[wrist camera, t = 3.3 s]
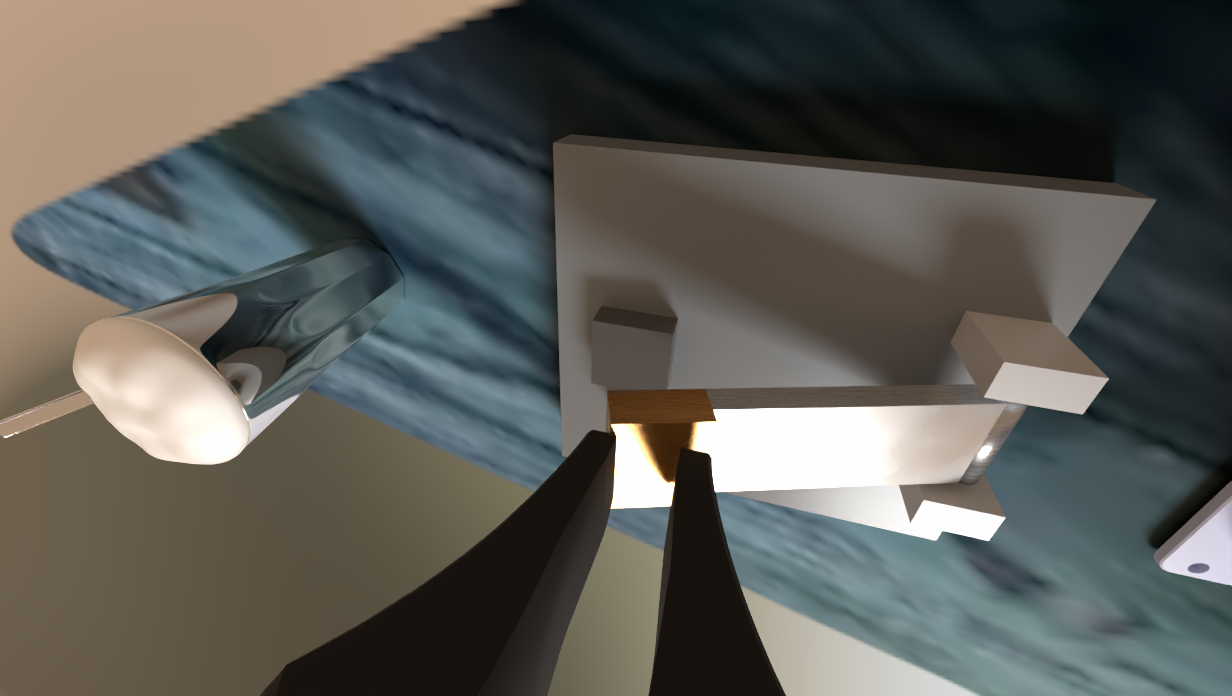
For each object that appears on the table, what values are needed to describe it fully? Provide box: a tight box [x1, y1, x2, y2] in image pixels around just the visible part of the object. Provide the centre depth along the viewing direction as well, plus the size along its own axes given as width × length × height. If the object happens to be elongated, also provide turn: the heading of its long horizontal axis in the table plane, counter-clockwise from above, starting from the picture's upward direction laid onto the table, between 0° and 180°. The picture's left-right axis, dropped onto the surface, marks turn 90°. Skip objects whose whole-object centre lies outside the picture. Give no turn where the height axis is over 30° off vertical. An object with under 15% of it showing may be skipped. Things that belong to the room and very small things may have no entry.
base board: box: [553, 134, 1157, 541], centre depth 15 cm, size 14×12×4 cm
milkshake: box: [0, 239, 404, 464], centre depth 15 cm, size 4×5×10 cm
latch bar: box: [606, 384, 1029, 508], centre depth 12 cm, size 10×3×1 cm, turn 87°
